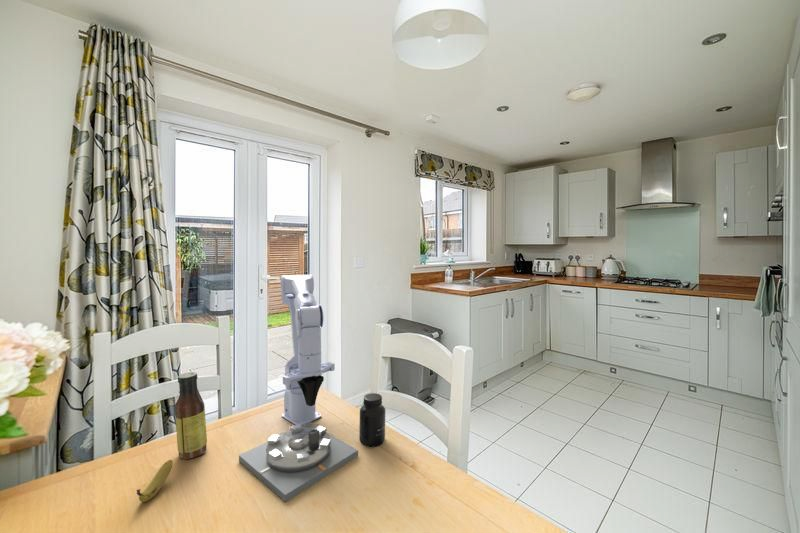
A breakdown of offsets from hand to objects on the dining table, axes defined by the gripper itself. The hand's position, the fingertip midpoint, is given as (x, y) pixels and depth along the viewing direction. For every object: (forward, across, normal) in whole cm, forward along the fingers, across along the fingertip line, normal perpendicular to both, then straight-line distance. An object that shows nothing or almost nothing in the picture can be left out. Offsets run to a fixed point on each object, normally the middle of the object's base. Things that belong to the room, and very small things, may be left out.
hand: (310, 404), depth 90 cm
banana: (+11, -31, +10) cm, 35 cm away
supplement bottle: (+11, +12, -11) cm, 19 cm away
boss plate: (+11, -5, -3) cm, 12 cm away
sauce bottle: (+10, -21, +19) cm, 31 cm away
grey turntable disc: (+9, -5, -3) cm, 11 cm away
